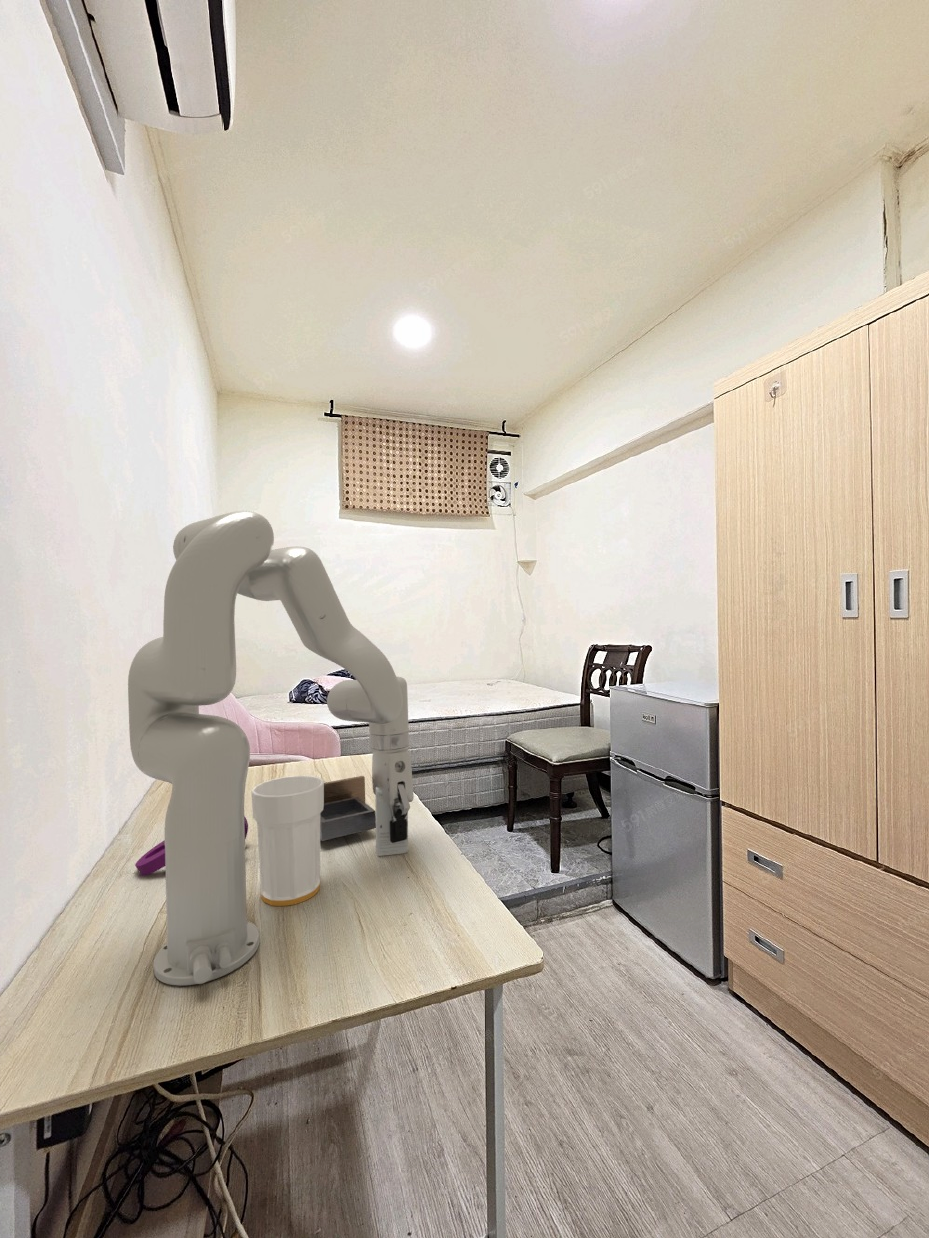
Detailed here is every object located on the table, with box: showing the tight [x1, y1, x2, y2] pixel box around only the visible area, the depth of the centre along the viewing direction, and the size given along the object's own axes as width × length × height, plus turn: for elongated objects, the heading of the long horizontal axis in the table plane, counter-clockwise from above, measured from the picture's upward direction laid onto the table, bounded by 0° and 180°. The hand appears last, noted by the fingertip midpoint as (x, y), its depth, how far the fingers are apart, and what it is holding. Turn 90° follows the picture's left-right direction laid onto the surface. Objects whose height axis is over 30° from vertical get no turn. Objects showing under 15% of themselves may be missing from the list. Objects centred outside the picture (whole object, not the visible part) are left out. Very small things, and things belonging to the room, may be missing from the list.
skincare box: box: [374, 787, 409, 857], centre depth 99 cm, size 6×4×12 cm
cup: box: [251, 775, 325, 907], centre depth 85 cm, size 11×11×17 cm
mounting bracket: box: [134, 815, 249, 877], centre depth 97 cm, size 9×8×18 cm
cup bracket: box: [320, 775, 376, 842], centre depth 108 cm, size 14×16×9 cm
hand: (392, 834), depth 99 cm, fingers closed on skincare box, 5 cm apart
